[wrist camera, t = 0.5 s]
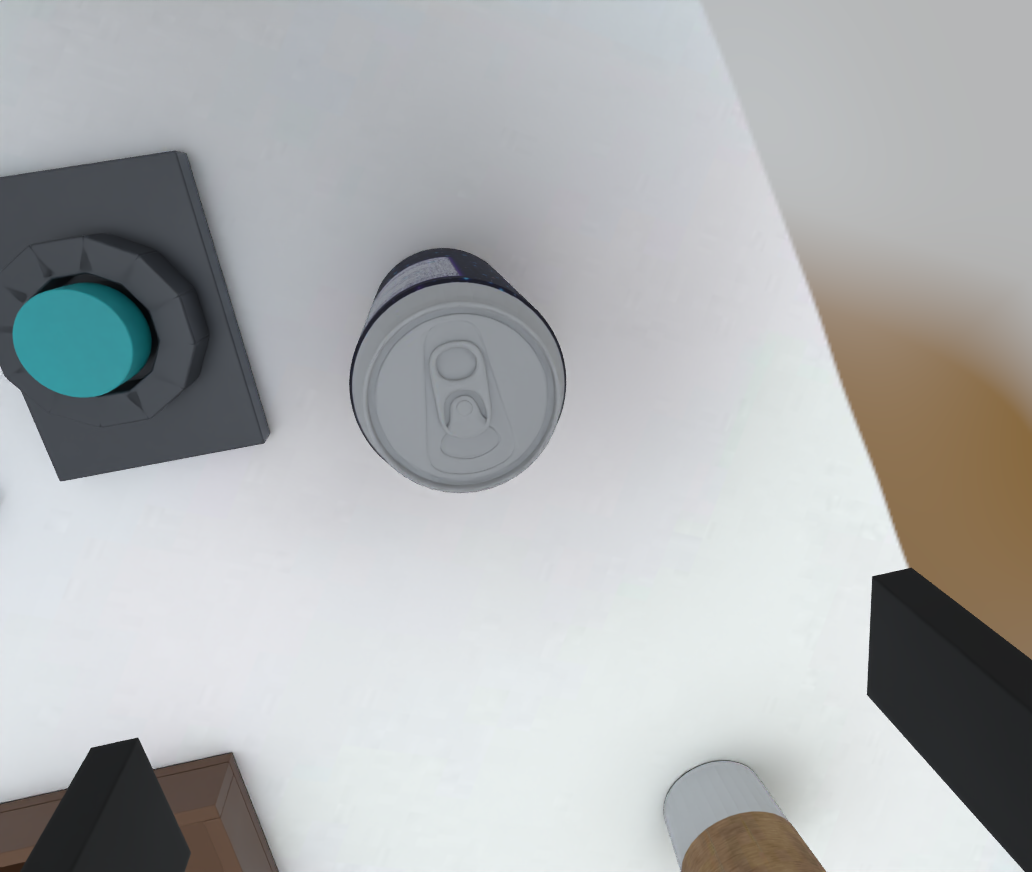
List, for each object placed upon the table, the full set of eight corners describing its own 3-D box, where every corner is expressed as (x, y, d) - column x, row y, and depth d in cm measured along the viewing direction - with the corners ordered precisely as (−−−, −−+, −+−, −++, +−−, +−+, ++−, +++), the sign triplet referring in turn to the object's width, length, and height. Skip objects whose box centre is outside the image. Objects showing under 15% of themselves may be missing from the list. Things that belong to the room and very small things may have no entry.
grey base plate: (-45, 187, 24) (-106, 187, 21) (186, 152, 25) (156, 146, 22) (73, 470, 28) (35, 501, 25) (270, 433, 28) (254, 460, 26)
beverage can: (389, 395, 29) (372, 526, 17) (359, 258, 27) (318, 306, 15) (521, 372, 29) (588, 485, 18) (501, 236, 27) (563, 266, 16)
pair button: (22, 292, 23) (-8, 299, 21) (131, 273, 23) (110, 279, 22) (63, 392, 24) (37, 407, 23) (166, 374, 24) (148, 387, 23)
